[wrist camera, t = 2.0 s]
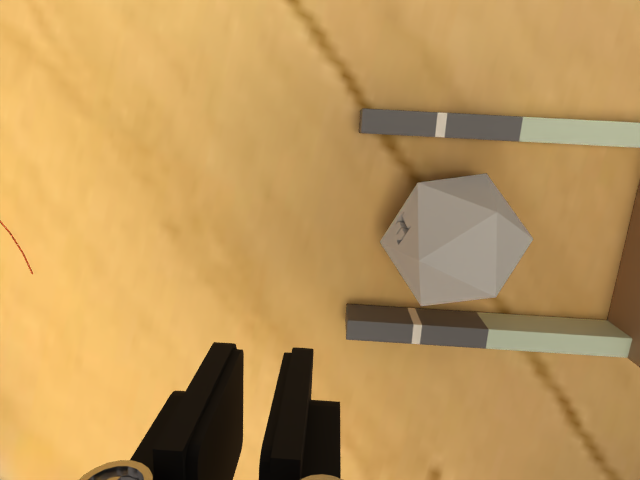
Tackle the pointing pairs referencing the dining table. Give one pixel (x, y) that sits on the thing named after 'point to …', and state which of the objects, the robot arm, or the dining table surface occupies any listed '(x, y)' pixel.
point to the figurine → (18, 246)
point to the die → (456, 240)
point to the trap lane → (510, 329)
